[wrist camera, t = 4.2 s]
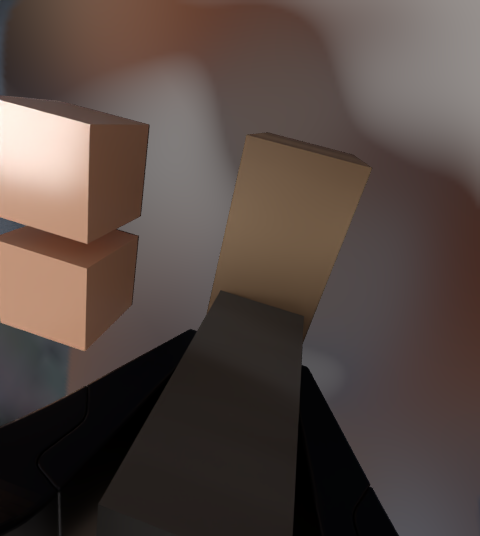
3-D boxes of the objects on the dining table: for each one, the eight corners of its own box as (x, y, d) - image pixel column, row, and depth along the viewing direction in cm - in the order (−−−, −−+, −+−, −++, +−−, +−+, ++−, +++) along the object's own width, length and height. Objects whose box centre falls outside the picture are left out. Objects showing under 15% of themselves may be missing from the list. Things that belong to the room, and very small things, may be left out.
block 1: (141, 216, 15) (87, 244, 12) (63, 192, 16) (-12, 213, 12) (149, 124, 13) (89, 124, 10) (62, 101, 14) (-27, 92, 10)
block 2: (132, 304, 17) (85, 351, 14) (64, 282, 18) (0, 322, 14) (138, 235, 16) (86, 268, 12) (63, 213, 16) (-9, 238, 12)
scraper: (267, 388, 16) (207, 736, 7) (209, 368, 16) (75, 676, 7) (353, 154, 11) (527, 276, 2) (267, 132, 11) (88, 153, 2)
